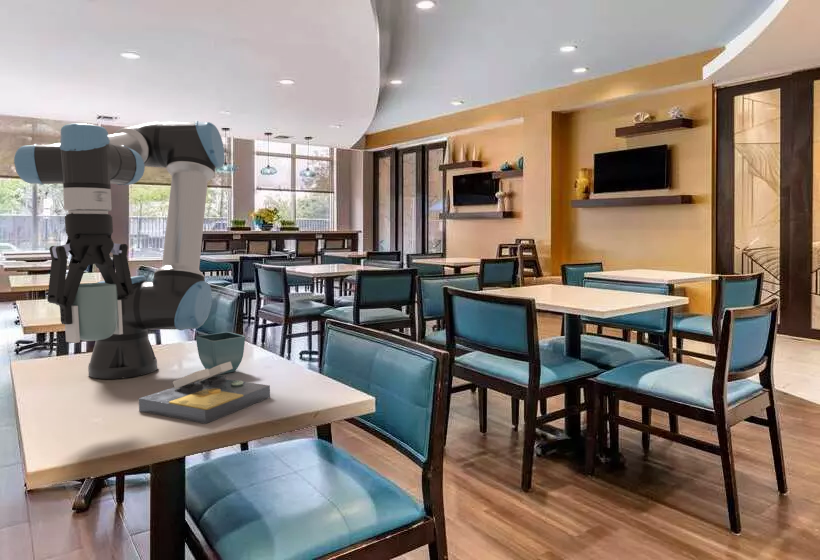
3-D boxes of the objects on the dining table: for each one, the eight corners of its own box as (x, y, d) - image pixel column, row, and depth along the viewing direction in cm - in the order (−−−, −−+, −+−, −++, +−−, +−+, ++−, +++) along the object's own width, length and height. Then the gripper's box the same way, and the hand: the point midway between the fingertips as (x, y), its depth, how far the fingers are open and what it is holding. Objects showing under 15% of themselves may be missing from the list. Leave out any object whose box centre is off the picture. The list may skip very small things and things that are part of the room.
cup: (83, 335, 110) (80, 283, 109) (126, 334, 111) (123, 282, 110) (62, 343, 102) (59, 287, 101) (108, 342, 103) (105, 286, 102)
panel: (139, 411, 112) (138, 394, 111) (208, 387, 128) (207, 373, 127) (206, 423, 104) (206, 406, 104) (271, 397, 120) (270, 381, 120)
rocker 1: (175, 389, 117) (172, 380, 117) (187, 385, 120) (184, 377, 120) (198, 379, 114) (195, 371, 114) (210, 375, 117) (207, 367, 117)
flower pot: (247, 371, 142) (246, 335, 141) (213, 378, 136) (212, 340, 135) (228, 366, 148) (227, 331, 147) (196, 372, 142) (194, 336, 141)
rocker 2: (199, 381, 123) (196, 373, 123) (210, 378, 126) (207, 370, 126) (222, 371, 120) (219, 363, 120) (233, 368, 123) (230, 360, 123)
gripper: (44, 211, 93) (52, 350, 95) (151, 213, 112) (156, 330, 114) (15, 212, 97) (24, 346, 99) (124, 214, 115) (130, 327, 117)
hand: (95, 337), depth 106 cm, fingers closed on cup, 8 cm apart
